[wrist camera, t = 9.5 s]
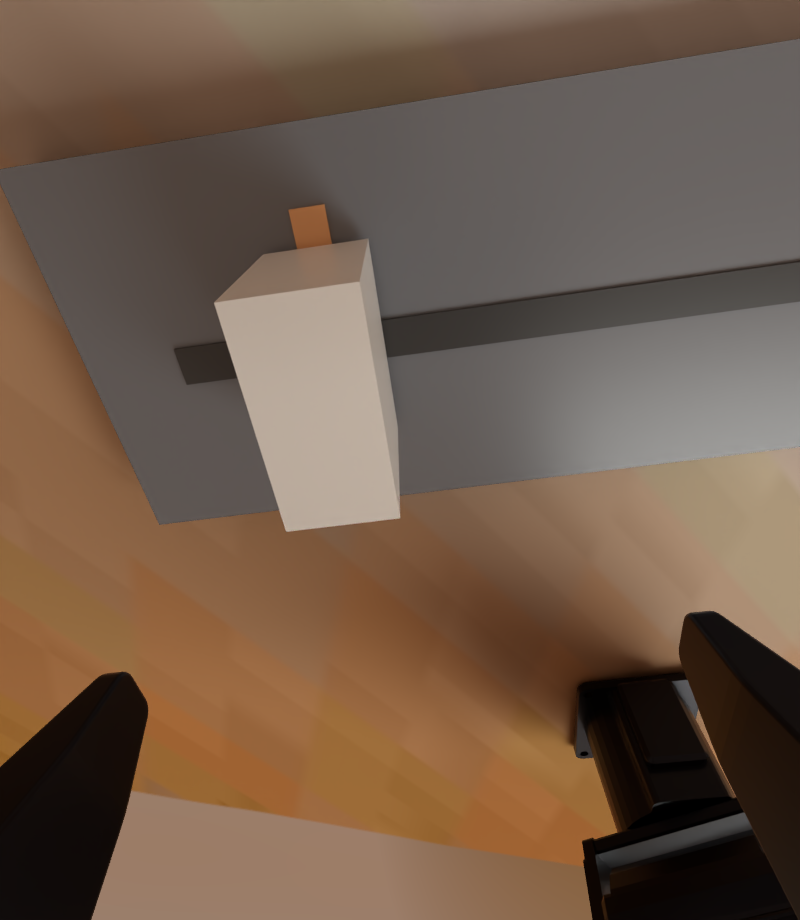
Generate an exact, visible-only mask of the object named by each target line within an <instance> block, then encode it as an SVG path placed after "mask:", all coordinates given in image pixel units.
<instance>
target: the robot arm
mask: <svg viewBox="0 0 800 920" xmlns="http://www.w3.org/2000/svg"><path fill="white" fill-rule="evenodd" d="M679 657H680V661H681V664H682V667H683V670H684V672H685V673H680V674H670V675H660V676H650V677H640V678H630V679H619V680H609V681H599V682H589V683H583V684H581V685H579V686H578V688H577V696H576V714H575V732H574V751H575V754H576V757H578V758H583V759H584V758H594V761H595V764H596V767H597V770H598V773H599V776H600V779H601V782H602V785H603V788H604V792H605V795H606V798H607V801H608V804H609V807H610V810H611V813H612V816H613V819H614V822H615V825H616V829H617V832H618V833H615V834H611V835H608V836H605V837H601V838H598V839H594V838H590V839H586V840H583V841H582V844H583V850H584V857H585V859H584V860H583V863H584V869H585V875H586V882H587V887H588V894H589V900H590V906H591V912H592V918H593V920H800V670H799V669H798V668H796V667H795V666H794V665H792V664H791V663H789V662H788V661H786V660H785V659H783V658H782V657H781V656H779V655H778V654H776V653H775V652H773V651H772V650H771V649H769V648H768V647H766V646H765V645H763V644H762V643H761V642H759V641H758V640H756V639H755V638H753V637H752V636H751V635H749V634H748V633H746V632H745V631H743V630H742V629H741V628H739V627H738V626H736V625H735V624H733V623H732V622H730V621H729V620H728V619H726V618H725V617H723V616H722V615H720V614H719V613H717V612H714V611H703V612H693V613H688V614H687V615H686V616H685V618H684V622H683V627H682V633H681V639H680V644H679ZM698 709H699V711H700V714H701V717H702V719H703V722H704V724H705V727H706V730H707V732H708V735H709V737H710V740H711V743H712V745H713V748H714V750H715V753H716V755H717V758H718V760H719V762H720V765H721V767H722V769H723V771H724V773H725V775H726V777H727V779H728V781H729V783H730V785H731V787H732V789H733V791H734V793H735V794H734V793H733V791H732V789H731V787H730V785H729V783H728V781H727V779H726V777H725V775H724V773H723V771H722V769H721V767H720V766H719V764H718V762H717V760H716V758H715V756H714V754H713V752H712V750H711V748H710V746H709V744H708V742H707V740H706V739H705V737H704V735H703V733H702V731H701V729H700V727H699V725H698V723H697V721H696V716H697V712H698ZM147 718H148V705H147V701H146V699H145V697H144V696H143V694H142V692H141V691H140V689H139V687H138V686H137V684H136V682H135V681H134V679H133V678H132V676H131V675H130V674H129V673H127V672H116V673H107V674H103V675H101V676H99V677H98V678H97V679H95V680H94V681H93V682H92V683H91V684H90V685H89V686H88V687H87V688H86V689H85V690H83V691H82V692H81V693H80V694H79V695H78V696H77V697H76V698H75V699H74V700H73V701H72V702H70V703H69V704H68V705H67V706H66V707H65V708H64V709H63V710H62V711H61V712H60V713H58V714H57V715H56V716H55V717H54V718H53V719H52V720H51V721H50V722H49V723H48V724H46V725H45V726H44V727H43V728H42V729H41V730H40V731H39V732H38V733H37V734H36V735H34V736H33V737H32V738H31V739H30V740H29V741H28V742H27V743H26V744H25V745H24V746H23V747H21V748H20V749H19V750H18V751H17V752H16V753H15V754H14V755H13V756H12V757H11V758H9V759H8V760H7V761H6V762H5V763H4V764H3V765H2V766H1V767H0V920H91V919H92V916H93V913H94V910H95V906H96V903H97V900H98V897H99V894H100V891H101V888H102V885H103V882H104V879H105V876H106V873H107V869H108V866H109V863H110V860H111V857H112V854H113V851H114V848H115V845H116V842H117V839H118V836H119V833H120V830H121V826H122V823H123V820H124V817H125V813H126V809H127V805H128V802H129V797H130V793H131V789H132V784H133V780H134V775H135V771H136V767H137V762H138V758H139V753H140V749H141V744H142V740H143V736H144V731H145V727H146V722H147ZM735 795H736V796H735Z"/></svg>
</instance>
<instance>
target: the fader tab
mask: <svg viewBox="0 0 800 920" xmlns="http://www.w3.org/2000/svg"><path fill="white" fill-rule="evenodd" d="M214 305H215V308H216V311H217V314H218V317H219V320H220V324H221V327H222V330H223V333H224V336H225V339H226V343H227V346H228V349H229V352H230V355H231V358H232V362H233V365H234V368H235V371H236V374H237V377H238V381H239V384H240V387H241V390H242V393H243V397H244V400H245V403H246V406H247V409H248V412H249V416H250V419H251V422H252V425H253V428H254V431H255V435H256V438H257V441H258V444H259V447H260V450H261V454H262V457H263V460H264V463H265V466H266V469H267V473H268V476H269V479H270V482H271V485H272V488H273V492H274V495H275V498H276V501H277V504H278V507H279V511H280V514H281V517H282V520H283V523H284V527H285V530H286V532H289V531H297V530H306V529H314V528H323V527H331V526H339V525H348V524H356V523H365V522H373V521H381V520H390V519H398V518H400V491H399V453H398V425H397V419H396V412H395V406H394V400H393V393H392V387H391V380H390V374H389V368H388V361H387V355H386V349H385V342H384V336H383V330H382V323H381V317H380V310H379V304H378V298H377V291H376V285H375V279H374V272H373V266H372V260H371V253H370V247H369V240H368V239H363V240H356V241H349V242H342V243H336V244H329V245H322V246H316V247H309V248H302V249H296V250H289V251H282V252H275V253H269V254H263V255H262V256H261V257H260V258H259V259H258V260H257V261H256V262H255V263H254V264H253V265H252V266H251V267H250V268H249V269H248V270H247V271H246V272H245V273H244V274H243V275H242V276H241V277H240V278H239V279H237V280H236V281H235V282H234V283H233V284H232V285H231V286H230V287H229V288H228V289H227V290H226V291H225V292H224V293H223V294H222V295H221V296H220V297H219V298H218V299H217V300H216V301H215V302H214Z"/></svg>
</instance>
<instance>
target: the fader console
mask: <svg viewBox="0 0 800 920" xmlns="http://www.w3.org/2000/svg"><path fill="white" fill-rule="evenodd" d="M0 185H1V187H2V189H3V191H4V193H5V196H6V198H7V200H8V202H9V204H10V206H11V208H12V211H13V213H14V215H15V217H16V219H17V221H18V223H19V225H20V228H21V230H22V232H23V234H24V236H25V238H26V240H27V243H28V245H29V247H30V249H31V251H32V253H33V255H34V258H35V260H36V262H37V264H38V266H39V268H40V270H41V273H42V275H43V277H44V279H45V281H46V283H47V285H48V287H49V290H50V292H51V294H52V296H53V298H54V300H55V302H56V305H57V307H58V309H59V311H60V313H61V315H62V317H63V320H64V322H65V324H66V326H67V328H68V330H69V332H70V334H71V337H72V339H73V341H74V343H75V345H76V347H77V349H78V352H79V354H80V356H81V358H82V360H83V362H84V364H85V367H86V369H87V371H88V373H89V375H90V377H91V379H92V382H93V384H94V386H95V388H96V390H97V392H98V394H99V396H100V399H101V401H102V403H103V405H104V407H105V409H106V411H107V414H108V416H109V418H110V420H111V422H112V424H113V426H114V429H115V431H116V433H117V435H118V437H119V439H120V441H121V444H122V446H123V448H124V450H125V452H126V454H127V456H128V458H129V461H130V463H131V465H132V467H133V469H134V471H135V473H136V476H137V478H138V480H139V482H140V484H141V486H142V488H143V491H144V493H145V495H146V497H147V499H148V501H149V503H150V505H151V508H152V510H153V512H154V514H155V516H156V518H157V520H158V523H159V525H161V524H169V523H177V522H185V521H194V520H202V519H210V518H218V517H227V516H235V515H243V514H251V513H260V512H268V511H276V510H279V507H278V504H277V501H276V498H275V495H274V492H273V488H272V485H271V482H270V479H269V476H268V473H267V469H266V466H265V463H264V460H263V457H262V454H261V450H260V447H259V444H258V441H257V438H256V435H255V431H254V428H253V425H252V422H251V419H250V416H249V412H248V409H247V406H246V403H245V400H244V397H243V393H242V390H241V387H240V384H239V381H238V377H237V374H236V371H235V368H234V365H233V362H232V358H231V355H230V352H229V349H228V346H227V343H226V339H225V336H224V333H223V330H222V327H221V324H220V320H219V317H218V314H217V311H216V308H215V305H214V302H215V301H216V300H217V299H218V298H219V297H220V296H221V295H222V294H223V293H224V292H225V291H226V290H227V289H228V288H229V287H230V286H231V285H232V284H233V283H234V282H235V281H236V280H237V279H239V278H240V277H241V276H242V275H243V274H244V273H245V272H246V271H247V270H248V269H249V268H250V267H251V266H252V265H253V264H254V263H255V262H256V261H257V260H258V259H259V258H260V257H261V256H262V255H263V254H269V253H275V252H282V251H289V250H296V249H302V248H309V247H316V246H322V245H329V244H336V243H342V242H349V241H356V240H363V239H368V240H369V247H370V253H371V260H372V266H373V272H374V279H375V285H376V291H377V298H378V304H379V310H380V317H381V323H382V330H383V336H384V342H385V349H386V355H387V361H388V368H389V374H390V380H391V387H392V393H393V400H394V406H395V412H396V419H397V425H398V453H399V491H400V495H408V494H416V493H425V492H433V491H441V490H449V489H458V488H466V487H474V486H482V485H491V484H499V483H507V482H515V481H524V480H532V479H540V478H548V477H557V476H565V475H573V474H581V473H590V472H598V471H606V470H614V469H623V468H631V467H639V466H647V465H656V464H664V463H672V462H680V461H689V460H697V459H705V458H713V457H722V456H730V455H738V454H746V453H755V452H763V451H771V450H779V449H788V448H796V447H800V39H795V40H789V41H783V42H776V43H770V44H764V45H758V46H752V47H746V48H740V49H734V50H727V51H721V52H715V53H709V54H703V55H697V56H691V57H685V58H678V59H672V60H666V61H660V62H654V63H648V64H642V65H635V66H629V67H623V68H617V69H611V70H605V71H599V72H593V73H586V74H580V75H574V76H568V77H562V78H556V79H550V80H544V81H537V82H531V83H525V84H519V85H513V86H507V87H501V88H495V89H488V90H482V91H476V92H470V93H464V94H458V95H452V96H445V97H439V98H433V99H427V100H421V101H415V102H409V103H403V104H396V105H390V106H384V107H378V108H372V109H366V110H360V111H354V112H347V113H341V114H335V115H329V116H323V117H317V118H311V119H305V120H298V121H292V122H286V123H280V124H274V125H268V126H262V127H255V128H249V129H243V130H237V131H231V132H225V133H219V134H213V135H206V136H200V137H194V138H188V139H182V140H176V141H170V142H164V143H157V144H151V145H145V146H139V147H133V148H127V149H121V150H115V151H108V152H102V153H96V154H90V155H84V156H78V157H72V158H65V159H59V160H53V161H47V162H41V163H35V164H29V165H23V166H16V167H10V168H4V169H0Z"/></svg>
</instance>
